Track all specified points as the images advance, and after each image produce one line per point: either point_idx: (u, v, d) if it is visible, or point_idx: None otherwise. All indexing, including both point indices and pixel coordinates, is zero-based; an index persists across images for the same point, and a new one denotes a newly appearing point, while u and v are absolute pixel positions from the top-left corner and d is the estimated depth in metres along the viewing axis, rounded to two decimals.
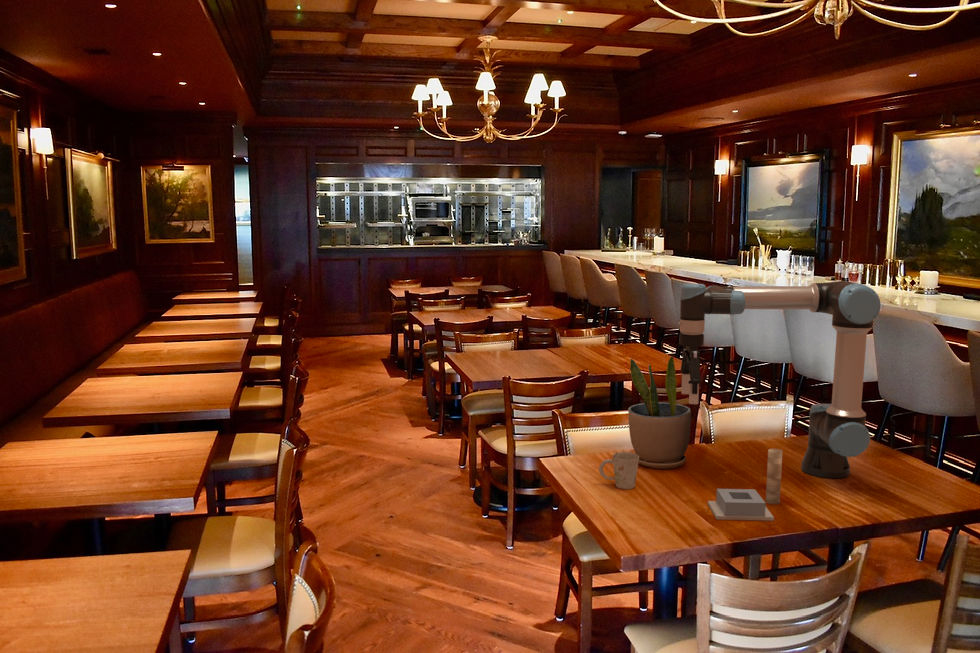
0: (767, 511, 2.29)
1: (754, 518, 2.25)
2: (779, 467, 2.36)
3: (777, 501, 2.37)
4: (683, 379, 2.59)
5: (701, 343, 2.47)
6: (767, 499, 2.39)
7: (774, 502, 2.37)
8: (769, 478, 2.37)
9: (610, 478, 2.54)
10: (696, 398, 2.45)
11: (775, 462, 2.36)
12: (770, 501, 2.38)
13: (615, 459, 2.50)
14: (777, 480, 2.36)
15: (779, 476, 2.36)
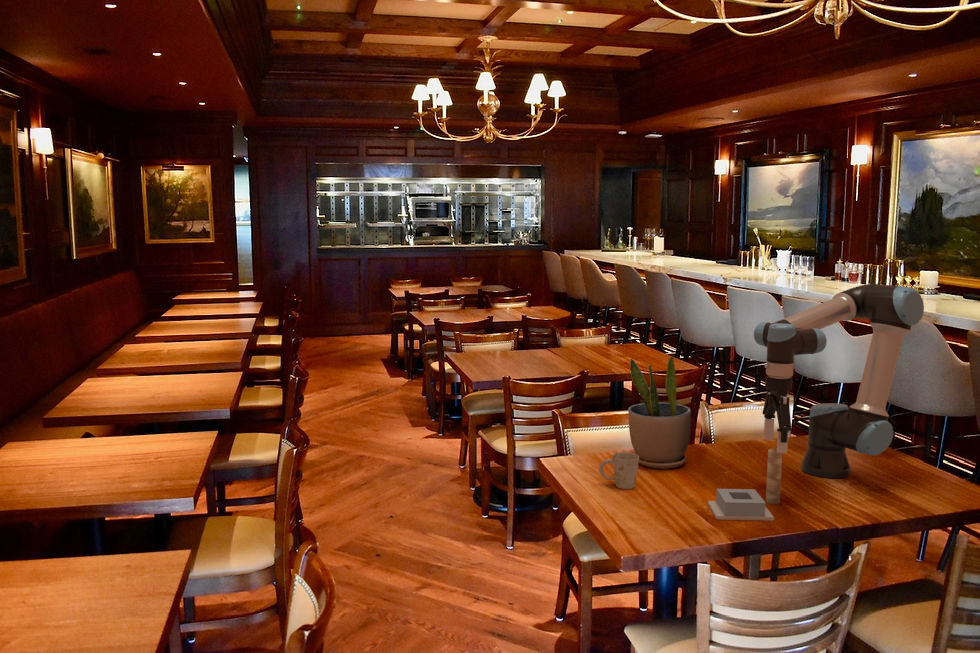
0: (767, 511, 2.29)
1: (754, 518, 2.25)
2: (779, 467, 2.36)
3: (777, 501, 2.37)
4: (766, 424, 2.42)
5: (790, 388, 2.31)
6: (767, 499, 2.39)
7: (774, 502, 2.37)
8: (769, 478, 2.37)
9: (610, 478, 2.54)
10: (785, 447, 2.29)
11: (775, 462, 2.36)
12: (770, 501, 2.38)
13: (615, 459, 2.50)
14: (777, 480, 2.36)
15: (779, 476, 2.36)
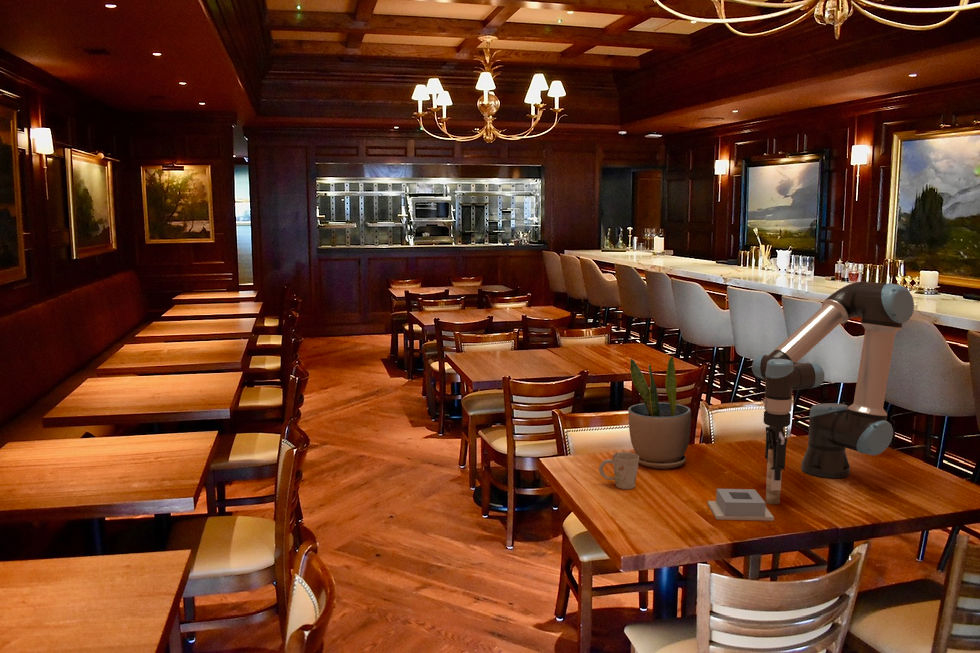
0: (767, 511, 2.29)
1: (754, 518, 2.25)
2: None
3: (777, 501, 2.37)
4: None
5: (788, 423, 2.33)
6: (767, 499, 2.39)
7: (774, 502, 2.37)
8: (769, 478, 2.37)
9: (610, 478, 2.54)
10: (779, 484, 2.36)
11: None
12: (770, 501, 2.38)
13: (615, 459, 2.50)
14: None
15: None
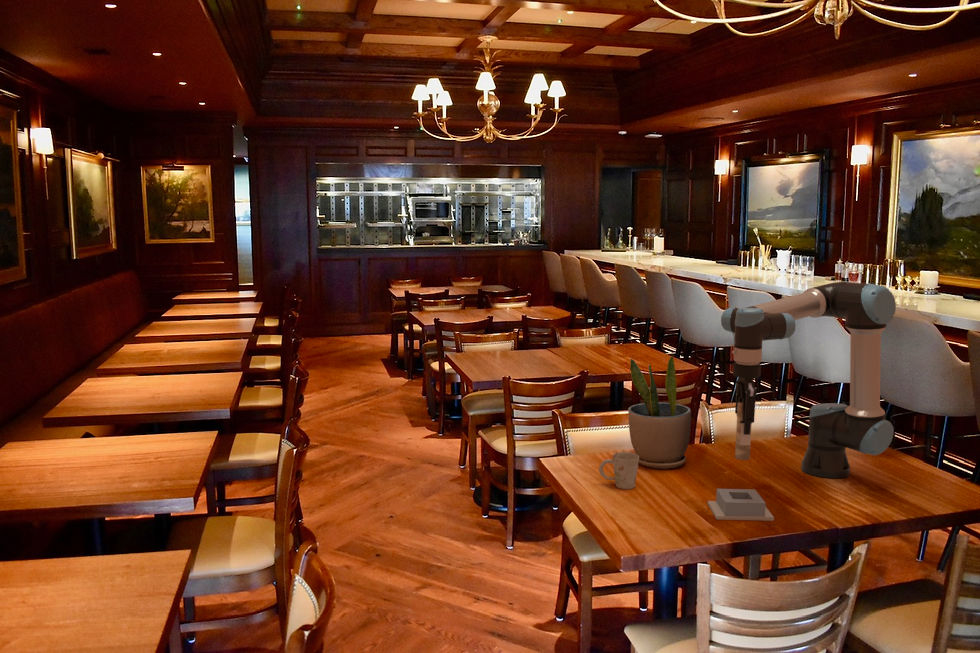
0: (767, 511, 2.29)
1: (754, 518, 2.25)
2: None
3: (747, 457, 2.27)
4: None
5: (758, 374, 2.23)
6: (736, 455, 2.28)
7: (743, 458, 2.27)
8: (739, 432, 2.27)
9: (610, 478, 2.54)
10: (748, 439, 2.25)
11: None
12: (739, 457, 2.27)
13: (615, 459, 2.50)
14: None
15: None
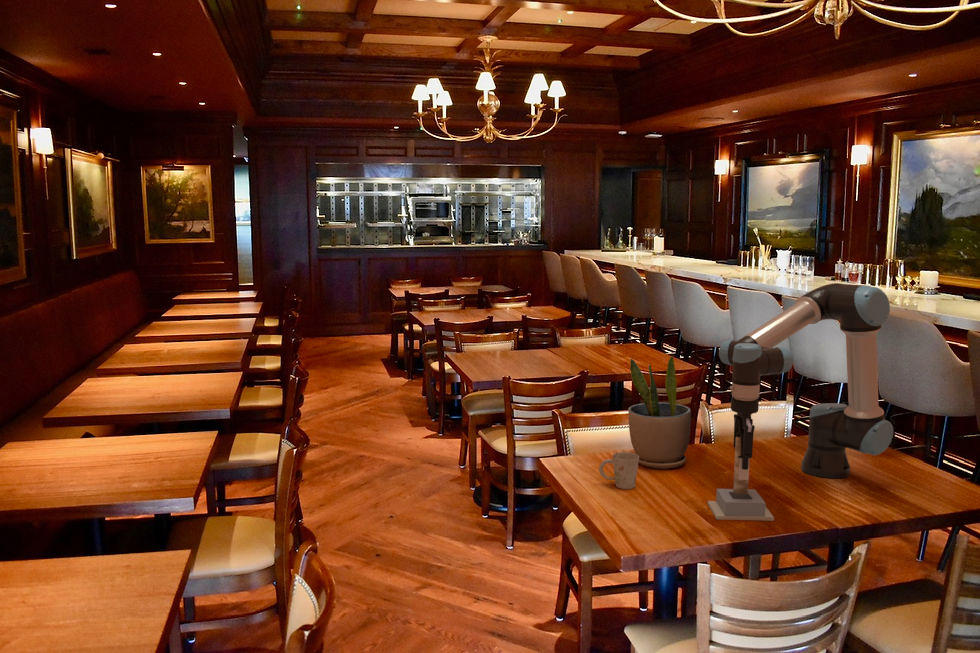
0: (767, 511, 2.29)
1: (754, 518, 2.25)
2: None
3: (745, 491, 2.28)
4: None
5: (756, 410, 2.24)
6: (734, 489, 2.29)
7: (742, 492, 2.28)
8: (737, 467, 2.28)
9: (610, 478, 2.54)
10: (746, 473, 2.27)
11: None
12: (737, 491, 2.29)
13: (615, 459, 2.50)
14: None
15: None
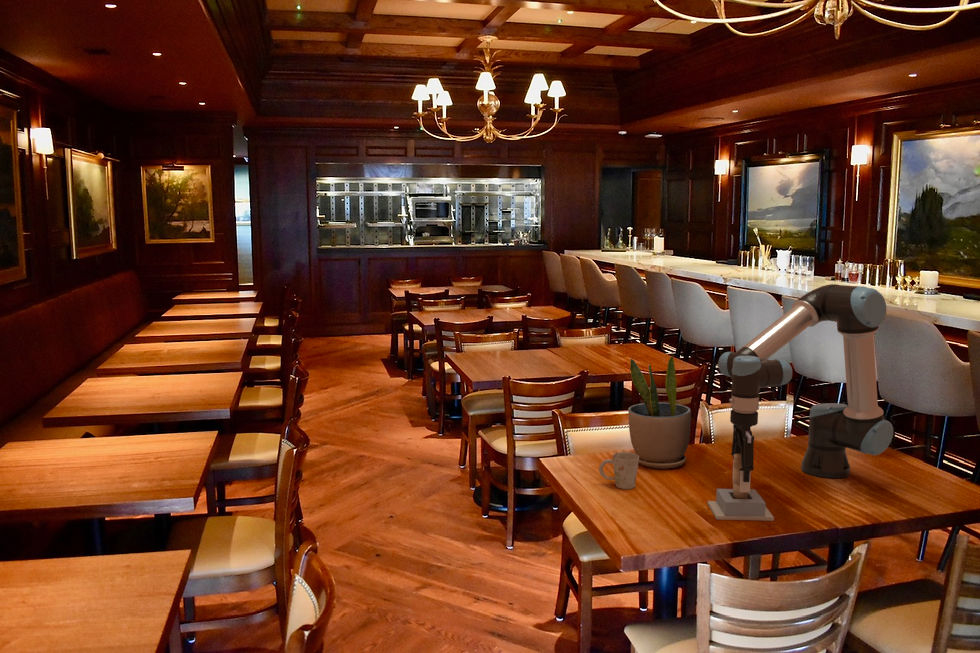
0: (767, 511, 2.29)
1: (754, 518, 2.25)
2: None
3: None
4: None
5: (755, 422, 2.24)
6: None
7: None
8: (736, 484, 2.29)
9: (610, 478, 2.54)
10: (748, 486, 2.25)
11: None
12: None
13: (615, 459, 2.50)
14: None
15: None
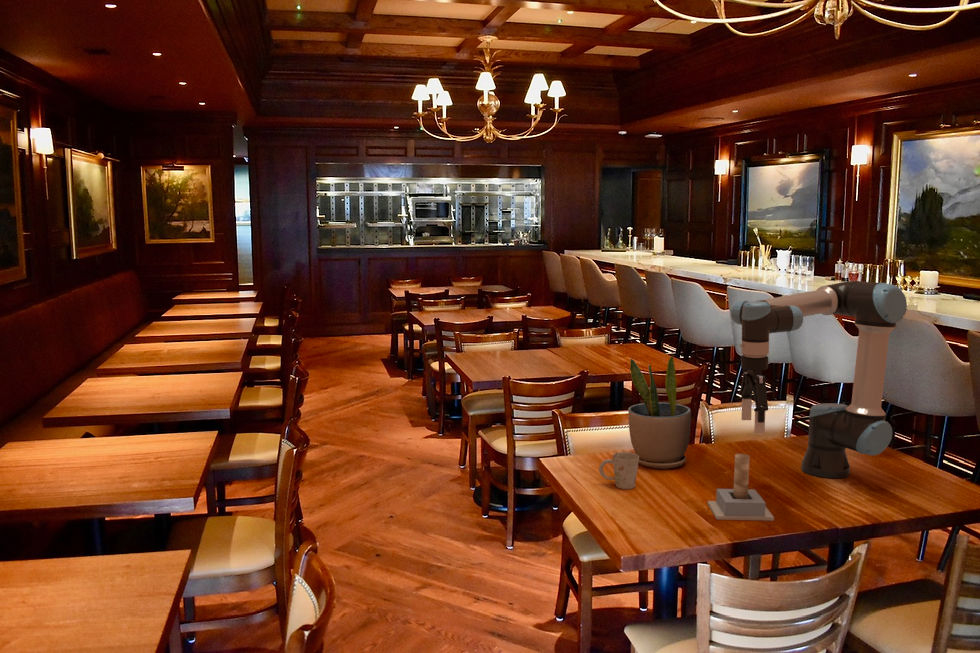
0: (767, 511, 2.29)
1: (754, 518, 2.25)
2: (746, 473, 2.28)
3: None
4: (743, 404, 2.39)
5: (766, 366, 2.27)
6: None
7: None
8: (736, 484, 2.29)
9: (610, 478, 2.54)
10: (762, 427, 2.25)
11: (741, 468, 2.27)
12: None
13: (615, 459, 2.50)
14: (744, 486, 2.28)
15: (746, 482, 2.28)
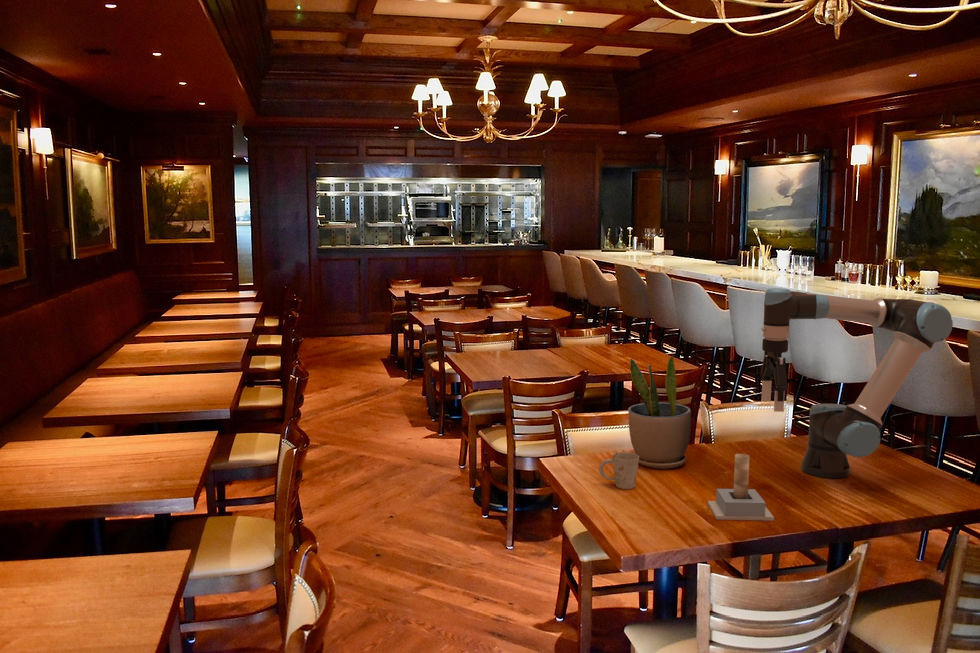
0: (767, 511, 2.29)
1: (754, 518, 2.25)
2: (746, 473, 2.28)
3: None
4: (764, 386, 2.53)
5: (786, 349, 2.42)
6: None
7: None
8: (736, 484, 2.29)
9: (610, 478, 2.54)
10: (781, 405, 2.40)
11: (741, 468, 2.27)
12: None
13: (615, 459, 2.50)
14: (744, 486, 2.28)
15: (745, 482, 2.28)
